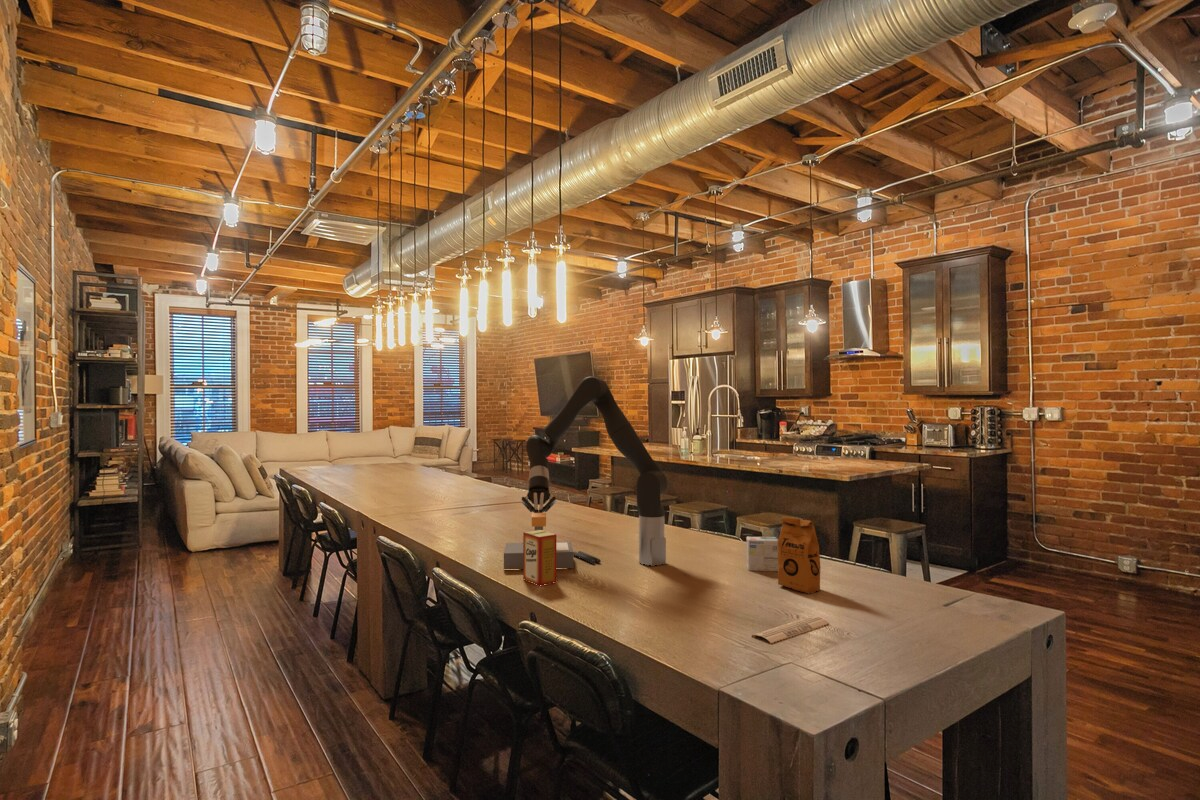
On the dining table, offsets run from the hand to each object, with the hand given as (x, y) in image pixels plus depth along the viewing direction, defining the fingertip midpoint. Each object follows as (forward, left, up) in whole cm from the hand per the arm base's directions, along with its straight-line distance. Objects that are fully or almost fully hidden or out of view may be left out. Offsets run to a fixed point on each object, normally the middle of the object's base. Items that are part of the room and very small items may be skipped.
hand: (538, 520), depth 227 cm
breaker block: (+3, -1, -16) cm, 16 cm away
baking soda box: (-17, +8, -16) cm, 25 cm away
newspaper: (-90, -30, -17) cm, 97 cm away
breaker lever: (+3, -1, -10) cm, 10 cm away
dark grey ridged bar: (0, -19, -16) cm, 25 cm away
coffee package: (-65, -59, -16) cm, 90 cm away
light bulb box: (-42, -66, -16) cm, 80 cm away
